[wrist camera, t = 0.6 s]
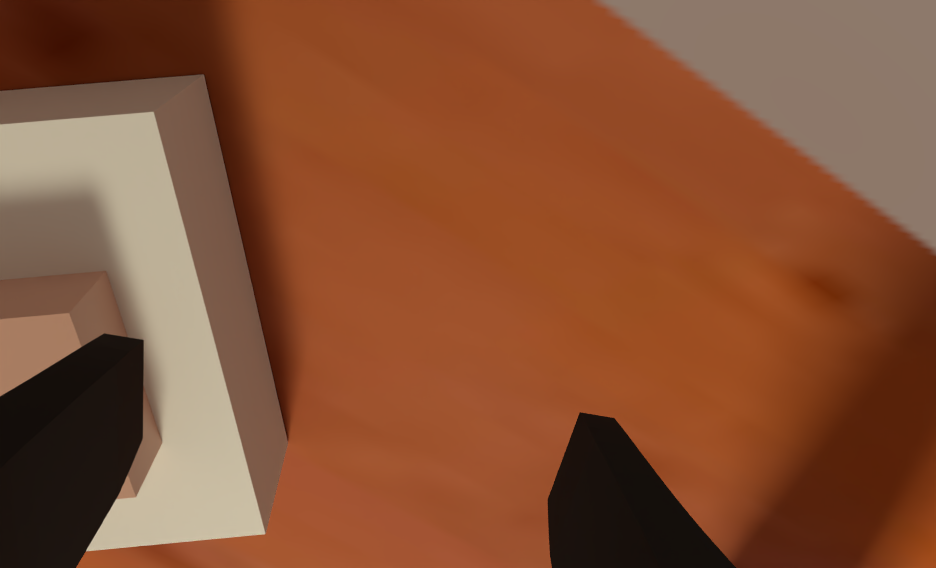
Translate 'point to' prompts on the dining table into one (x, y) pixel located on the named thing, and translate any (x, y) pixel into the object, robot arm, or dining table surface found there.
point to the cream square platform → (154, 287)
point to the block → (64, 339)
